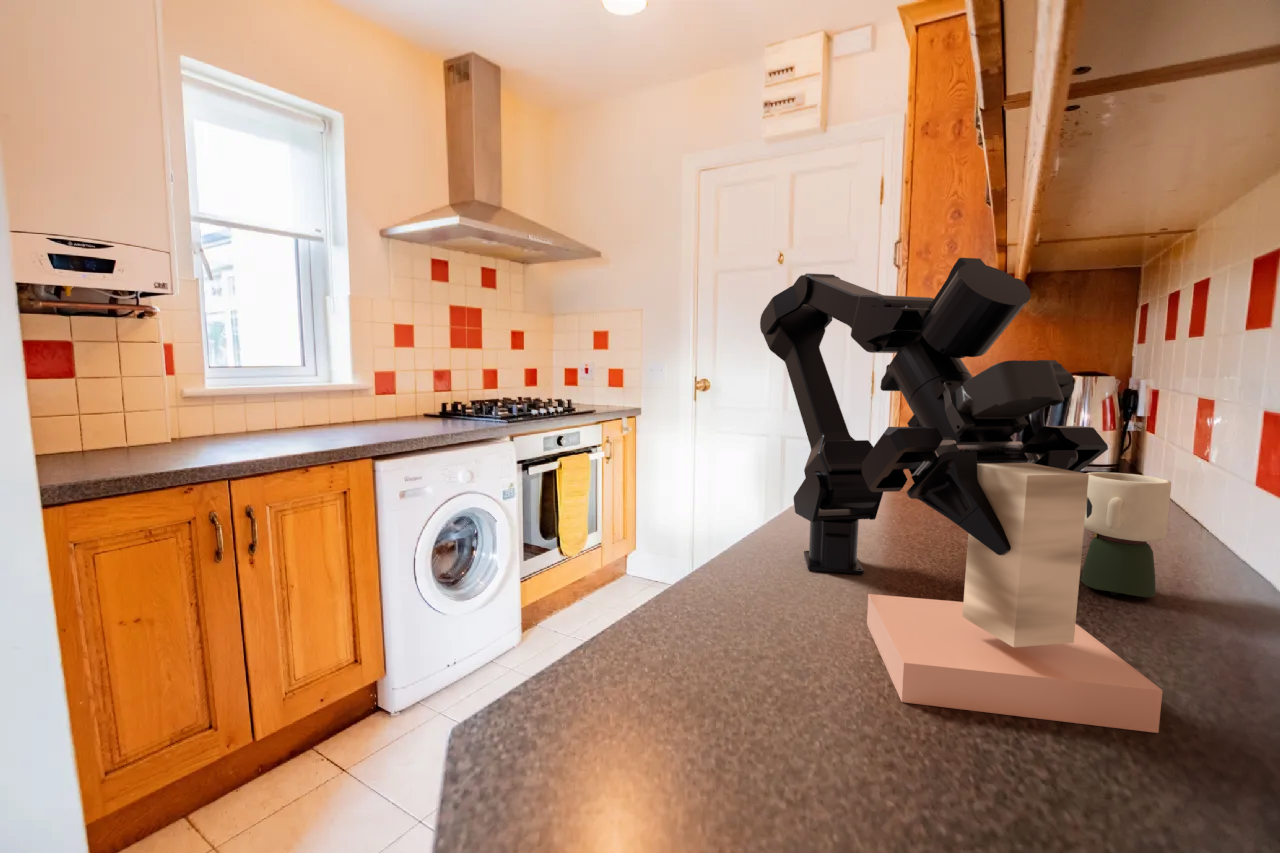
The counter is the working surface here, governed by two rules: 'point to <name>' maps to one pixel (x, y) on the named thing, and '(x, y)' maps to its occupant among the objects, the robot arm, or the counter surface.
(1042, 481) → the birch block
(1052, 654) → the terracotta stand
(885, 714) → the counter surface
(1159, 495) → the character mug
